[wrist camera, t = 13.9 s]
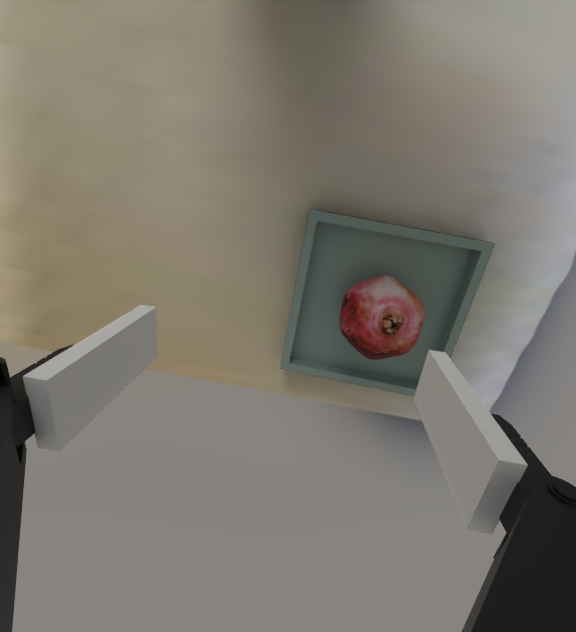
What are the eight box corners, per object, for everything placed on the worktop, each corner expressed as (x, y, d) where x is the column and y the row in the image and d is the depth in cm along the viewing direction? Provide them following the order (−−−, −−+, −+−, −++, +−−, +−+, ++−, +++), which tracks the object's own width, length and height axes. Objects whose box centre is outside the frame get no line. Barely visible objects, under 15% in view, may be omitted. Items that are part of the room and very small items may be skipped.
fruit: (367, 355, 42) (378, 399, 33) (322, 299, 40) (322, 329, 31) (429, 315, 40) (462, 350, 30) (385, 253, 38) (405, 271, 28)
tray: (310, 208, 38) (309, 209, 35) (484, 240, 37) (495, 243, 34) (282, 359, 45) (280, 368, 42) (427, 389, 44) (433, 400, 41)
